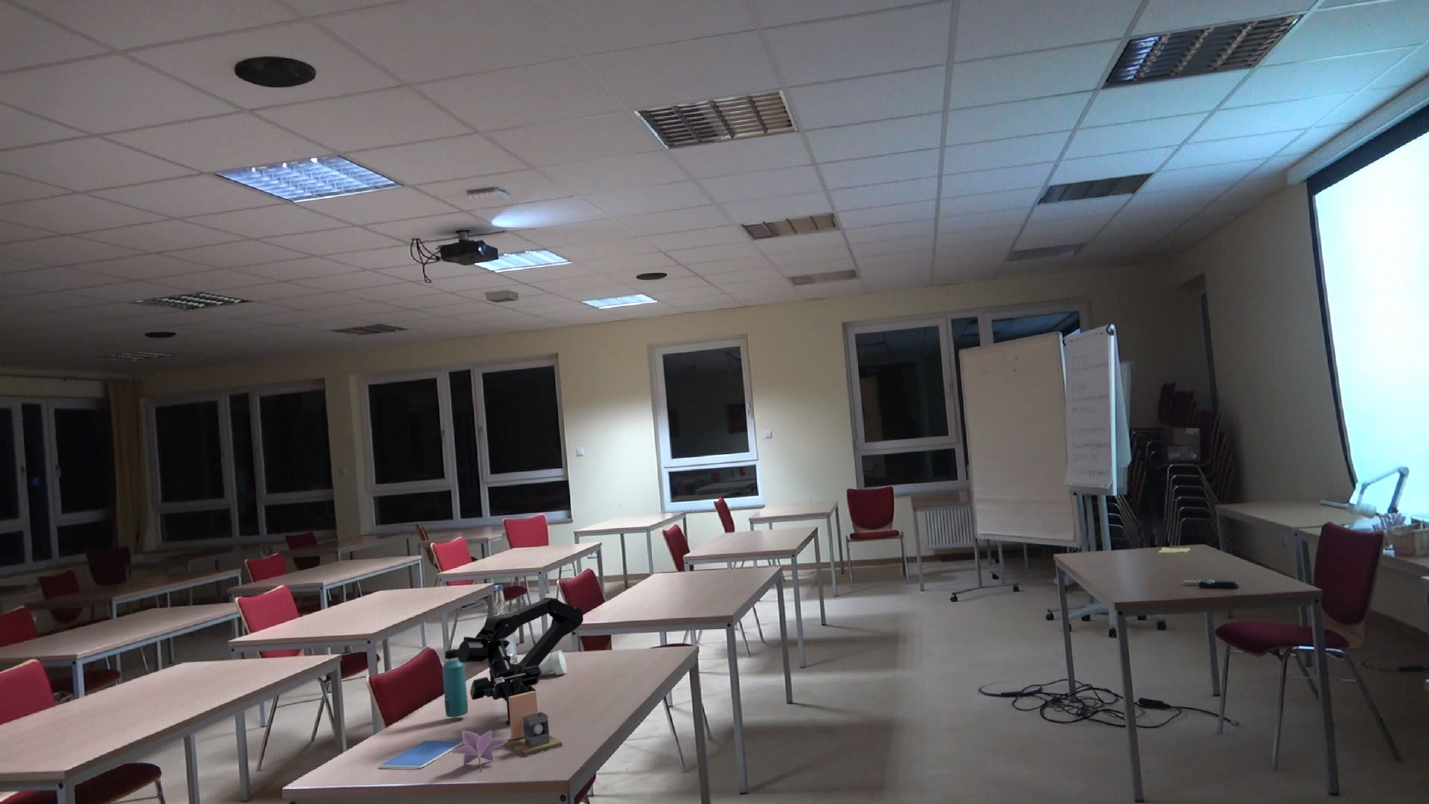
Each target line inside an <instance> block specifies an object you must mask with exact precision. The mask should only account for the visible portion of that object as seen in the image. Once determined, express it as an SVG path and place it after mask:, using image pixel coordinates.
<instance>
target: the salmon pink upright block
mask: <svg viewBox="0 0 1429 804" xmlns="http://www.w3.org/2000/svg"><path fill="white" fill-rule="evenodd" d="M508 699H509V712H510V723H509V726H510V737H511V738H512V739H517V738H520V737H524V724H523V716H527V715H531V714H535V713H539V712H538V702H537V701H538V700H537V699H538V698H537V691H531V692H527V693H523V694H518V695H514V696H510V697H508ZM533 729H534V733H536V734H540V733H541V732H542V730H543V726H542V725H541V724H539V723H538V724H535V725H533ZM511 738H510V739H511Z"/></svg>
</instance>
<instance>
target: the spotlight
mask: <svg viewBox="0 0 1429 804" xmlns="http://www.w3.org/2000/svg"><path fill="white" fill-rule="evenodd" d="M539 667H540V669H541V672H542V673H541V676H545V675H547V674H551V673H553V674H554V675H556V676H563V675H565V673H566V674H567V672H568V668H567V662H566V658H565V655H564V652H563V650H561V649H559V650H555V651H551V654H550V656H549V658H545V659H544V660H543V661H542V662H541V663H540V665H539ZM541 676H540V677H541Z"/></svg>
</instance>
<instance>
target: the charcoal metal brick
mask: <svg viewBox="0 0 1429 804" xmlns="http://www.w3.org/2000/svg"><path fill="white" fill-rule="evenodd" d="M538 723H539V724H541V725H542V726H543V730H542V732H541V733H540V734H536V733H534V729H533V725H535V724H538ZM523 724H524V738H525V745H526V746H528V747H530V748H534V747H537V746H541V745H544V744H548V743H550V740H549V735H550V729H549V715H548V714H547V713H545V712H543V711H539V712H538V713H535V714H531V715H527V716H523Z"/></svg>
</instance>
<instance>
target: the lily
mask: <svg viewBox="0 0 1429 804" xmlns="http://www.w3.org/2000/svg"><path fill="white" fill-rule="evenodd" d="M461 736H462V741H463V742H464V744H463V745H461V746H459V747H457V748H455V749H454V750H452V751H451V753H452V754H460V755H461V754H463V765H464V764H466V763H468V764H470V763H472V762H473V761H475V760H476V759H478V764H479V772H481V773H482V764H481V758H482V759H484V760H487V761H490V760H493V761H494V753H493V751H492V750H494V749H496V748H498V747H500V746H502V745H505V743H507V742H508V740H507V739H506V738H499V737H493V730H492V729H491V730H488V731H487V732H484V733H483V734H482V735H479V734H477V733H475V732H473V731H469V730H462V731H461ZM466 765H467V764H466Z"/></svg>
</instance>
